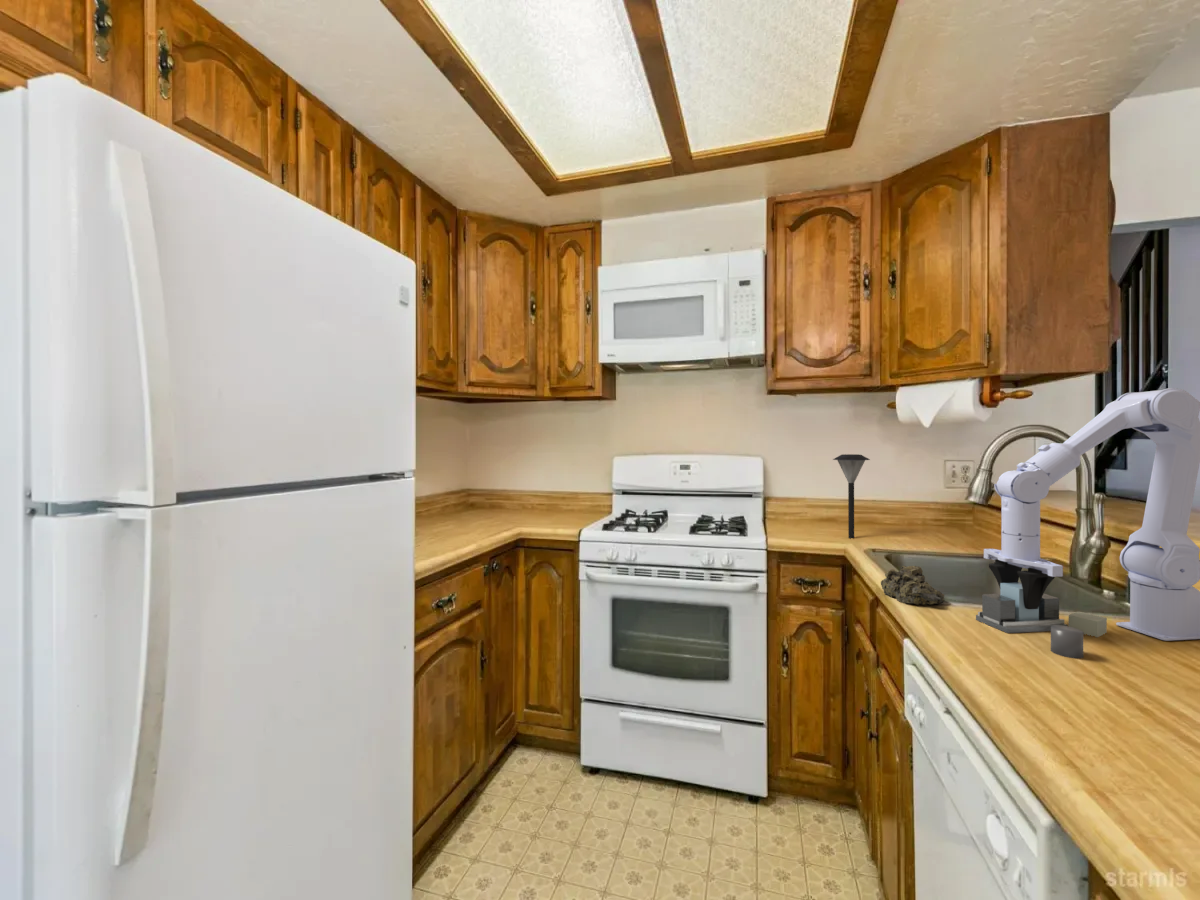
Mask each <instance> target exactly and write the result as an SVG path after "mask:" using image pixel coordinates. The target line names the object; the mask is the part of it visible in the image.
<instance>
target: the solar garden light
mask: <svg viewBox="0 0 1200 900" xmlns="http://www.w3.org/2000/svg"><path fill="white" fill-rule="evenodd" d="M832 461H837V463H838V464H839V467H840V469H841V471H842V473H843V475H844V476H845V479H846V481H847V485H848V487H847V488H848V492H847V493H848V495H847V496H848V497H847V499H848V500H847V501H848V507H847V508H848V509H847V510H848V520H847V521H848V522H847V523H848V527H847V528H848V530H847V531H848V539H851V538H854V539H855V482H856V480H857V478H858V476H859V474H860V472H861V470H862V467H863V465H864V464H865V461H871V459H870V458H868V457H866V456H864V455H862V454H854V453H853V454H852V453H851V454H849V453H845V454H844V453H843V454H840V455H838V456H837V457H835V458H832Z"/></svg>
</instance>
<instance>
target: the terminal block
mask: <svg viewBox="0 0 1200 900" xmlns="http://www.w3.org/2000/svg"><path fill="white" fill-rule="evenodd" d="M1107 622H1108V621H1107V617H1104V616H1101V615H1096V614H1091V613H1086V612H1083V611H1075V612H1073V613H1071V614H1070V613H1069V614H1068V624H1067V626H1068V627H1073V628H1076V629H1079V630H1081V631H1083V635H1086V634H1087V635H1086V636H1090V635H1091V636H1090V637H1093V636H1095V638H1099V637H1102V636H1103V634H1104V635H1105V633H1106V634H1107V633H1108V631H1107V625H1108V623H1107Z"/></svg>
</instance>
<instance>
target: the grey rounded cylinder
mask: <svg viewBox="0 0 1200 900" xmlns="http://www.w3.org/2000/svg"><path fill="white" fill-rule="evenodd" d="M1050 652H1052V653H1053V654H1055V655H1057V656H1060V657H1064V658H1069V659H1083V658H1084V634H1083V631H1081V630H1079V629H1076V628H1073V627H1068V625H1067V626H1062V625H1053V626H1051V631H1050Z"/></svg>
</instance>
